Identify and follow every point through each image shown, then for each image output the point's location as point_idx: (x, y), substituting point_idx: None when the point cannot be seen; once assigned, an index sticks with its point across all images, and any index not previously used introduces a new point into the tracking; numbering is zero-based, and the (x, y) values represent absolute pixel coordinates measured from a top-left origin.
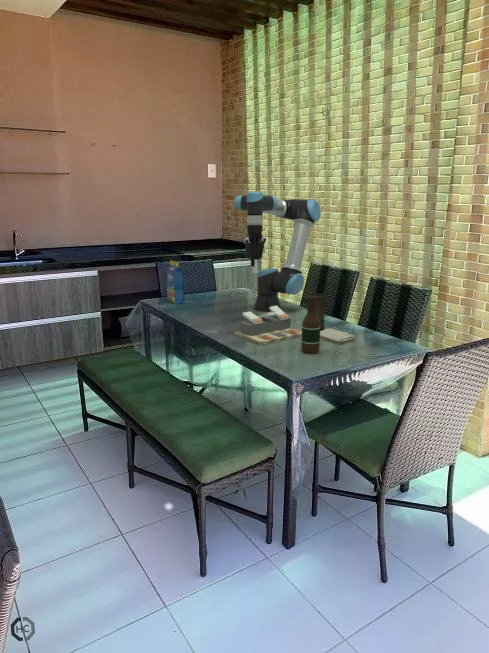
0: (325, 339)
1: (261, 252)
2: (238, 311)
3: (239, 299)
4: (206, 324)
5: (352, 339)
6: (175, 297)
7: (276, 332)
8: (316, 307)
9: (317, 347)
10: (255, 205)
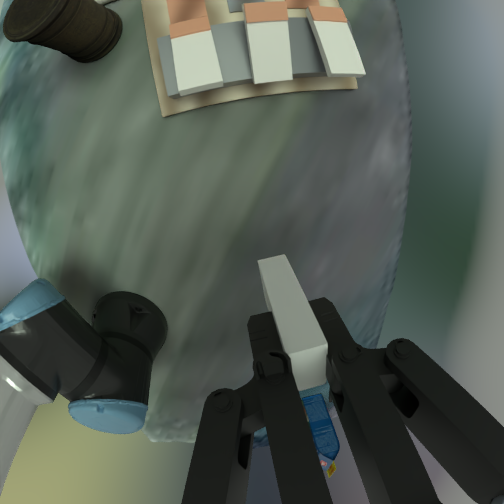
0: None
1: (221, 459)
2: (219, 325)
3: (176, 401)
4: (364, 230)
5: None
6: (323, 405)
7: (238, 19)
8: None
9: None
10: None
